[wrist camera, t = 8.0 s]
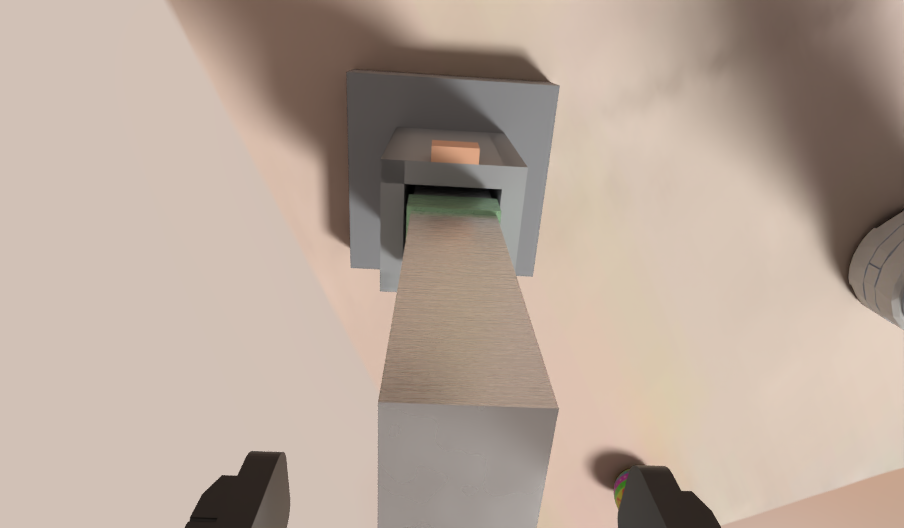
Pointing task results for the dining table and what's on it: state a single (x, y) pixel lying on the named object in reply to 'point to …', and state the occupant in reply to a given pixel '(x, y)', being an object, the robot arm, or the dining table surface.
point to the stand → (444, 156)
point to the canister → (881, 270)
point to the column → (461, 376)
